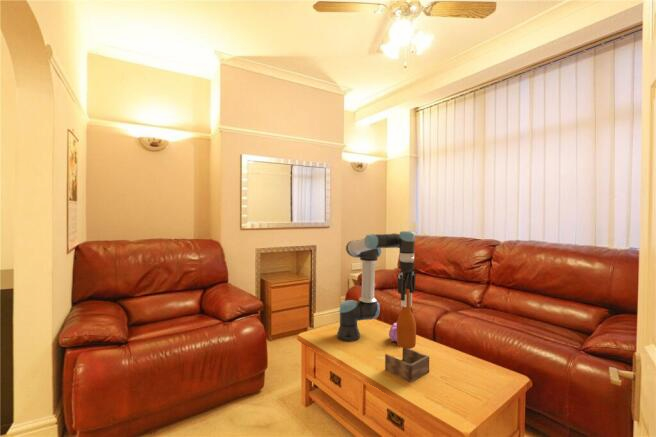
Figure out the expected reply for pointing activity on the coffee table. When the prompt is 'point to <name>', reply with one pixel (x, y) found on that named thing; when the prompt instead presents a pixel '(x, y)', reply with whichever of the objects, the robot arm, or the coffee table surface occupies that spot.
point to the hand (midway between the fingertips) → (406, 305)
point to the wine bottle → (406, 326)
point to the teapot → (393, 332)
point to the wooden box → (408, 365)
